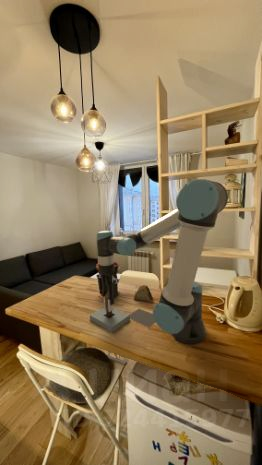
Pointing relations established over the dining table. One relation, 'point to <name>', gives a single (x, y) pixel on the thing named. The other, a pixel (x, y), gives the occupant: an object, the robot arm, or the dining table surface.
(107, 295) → the peg
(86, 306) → the dining table surface
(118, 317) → the block
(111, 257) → the robot arm
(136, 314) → the mat
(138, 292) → the rock
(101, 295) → the vessel
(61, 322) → the dining table surface
